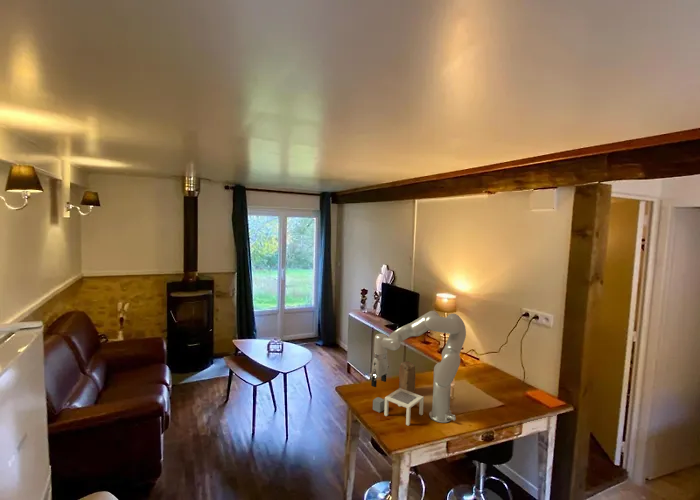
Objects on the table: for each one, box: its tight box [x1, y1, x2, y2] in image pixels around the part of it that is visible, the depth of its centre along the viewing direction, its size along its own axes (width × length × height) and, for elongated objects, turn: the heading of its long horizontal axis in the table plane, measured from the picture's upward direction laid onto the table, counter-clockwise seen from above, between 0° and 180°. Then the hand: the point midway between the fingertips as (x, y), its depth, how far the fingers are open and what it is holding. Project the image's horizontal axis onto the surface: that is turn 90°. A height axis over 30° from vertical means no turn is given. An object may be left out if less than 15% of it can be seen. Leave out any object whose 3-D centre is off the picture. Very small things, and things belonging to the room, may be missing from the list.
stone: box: [372, 396, 385, 413], centre depth 218 cm, size 5×5×6 cm
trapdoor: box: [392, 392, 417, 404], centre depth 213 cm, size 10×10×1 cm
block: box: [398, 361, 416, 393], centre depth 239 cm, size 11×8×20 cm
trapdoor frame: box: [383, 387, 425, 426], centre depth 213 cm, size 16×16×10 cm
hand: (378, 383), depth 217 cm, fingers open, 9 cm apart
